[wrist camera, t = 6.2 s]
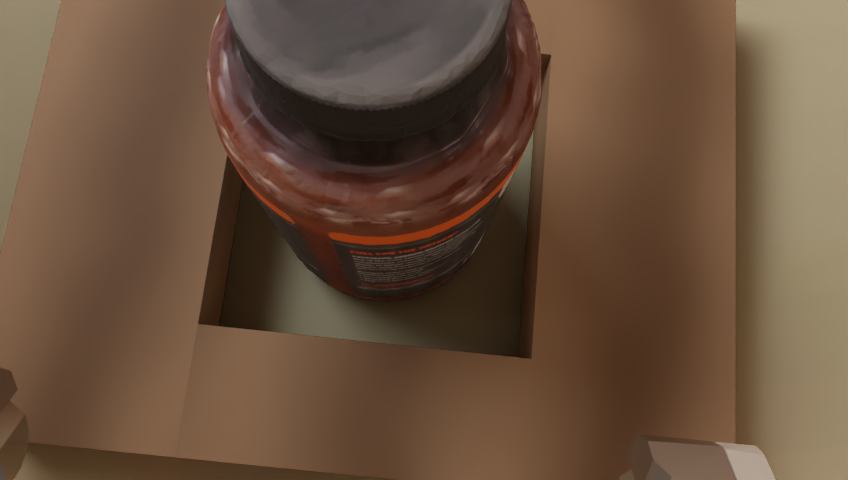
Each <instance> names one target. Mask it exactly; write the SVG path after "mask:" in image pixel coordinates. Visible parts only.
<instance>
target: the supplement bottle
mask: <svg viewBox="0 0 848 480" xmlns="http://www.w3.org/2000/svg"><path fill="white" fill-rule="evenodd" d="M224 1H225V3H224V5H223V7H222V9H221V11H220V13H219V15H218V17H217V19H216V21H215V23H214V27H213V31H212V35H211V39H210V44H209V49H208V57H207V62H206V82H207V94H208V99H209V104H210V109H211V114H212V117H213V120H214V123H215V126H216V129H217V132H218V135H219V137H220V140H221V143H222V145H223V147H224V149H225V151H226V153H227V155H228V156H229V158H230V159H231V161H232V163H233V164H234V166H235V167H236V169H237V171H238V172H239V174H240V175H241V177H242V178H243V180H244V182H245V183H246V185H247V186H248V188H249V189H250V190H251V191H252V193H253V194H254V196H255V198H256V199H257V200H258V201H259V203H260V204H261V206H262V208H263V209H264V210H265V212H266V213H267V214H268V216H269V217H270V219H271V221H272V222H273V223H274V224H275V226H276V227H277V229H278V230H279V231H280V233H281V235H282V236H283V237H284V239H285V240H286V241H287V243H288V244H289V246H290V247H291V248H292V250H293V251H294V253H295V254H296V255H297V257H298V258H299V259H300V260H301V261H302V262H303V263H304V265H305V266H306V267H307V268H308V269H309V270H311V271H312V272H313V273H314V274H316V275H317V276H318V277H319V278H320V279H322V280H323V281H324V282H326V283H327V284H329V285H331V286H333V287H334V288H336V289H338V290H340V291H343V292H345V293H348V294H351V295H353V296H357V297H359V298H363V299H369V300H397V299H404V298H409V297H413V296H417V295H419V294H422V293H424V292H427V291H429V290H431V289H433V288H436V287H437V286H439V285H441V284H443V283H444V282H446V281H447V280H448V279H449V278H450V277H452V276H453V275H454V274H455V273H456V272H457V271H458V270H459V269H460V268H461V267H462V266H463V265H464V264H465V263H466V262H467V261H468V260H469V258H470V257H471V255H472V254H473V253H474V251H475V249H476V248H477V246H478V244H479V243H480V241H481V239H482V237H483V235H484V233H485V231H486V229H487V227H488V225H489V223H490V221H491V219H492V217H493V215H494V213H495V211H496V208H497V206H498V204H499V202H500V201H501V199H502V197H503V194H504V192H505V191H506V189H507V186H508V184H509V182H510V180H511V178H512V176H513V174H514V171H515V169H516V167H517V165H518V163H519V161H520V159H521V157H522V155H523V152H524V150H525V148H526V146H527V144H528V141H529V139H530V137H531V135H532V132H533V129H534V125H535V122H536V119H537V116H538V111H539V107H540V103H541V95H542V66H541V52H540V45H539V42H538V36H537V33H536V29H535V24H534V23H533V21H532V19H531V15H530V13H529V11H528V8H527V5H526V3H525V1H524V0H224Z"/></svg>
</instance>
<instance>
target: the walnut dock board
mask: <svg viewBox="0 0 848 480" xmlns="http://www.w3.org/2000/svg"><path fill="white" fill-rule="evenodd" d="M524 1H525V3H526V5H527V8H528V11H529V13H530V15H531V19H532V21H533V23H534V24H535V29H536V33H537V36H538V42H539V45H540V52H541V66H542V95H541V103H540V107H539V111H538V116H537V119H536V122H535V125H534V138H533V152H532V167H531V181H530V195H529V210H528V224H527V239H526V253H525V267H524V282H523V296H522V311H521V325H520V339H519V354H518V357H509V356H499V355H490V354H480V353H470V352H461V351H451V350H442V349H432V348H423V347H413V346H403V345H394V344H384V343H375V342H365V341H355V340H346V339H336V338H327V337H317V336H308V335H298V334H288V333H279V332H269V331H260V330H250V329H240V328H231V327H221V326H219V322H220V316H221V310H222V304H223V298H224V292H225V286H226V280H227V274H228V268H229V262H230V256H231V250H232V244H233V237H234V231H235V225H236V219H237V213H238V207H239V201H240V195H241V189H242V183H243V178H242V177H241V175H240V174H239V172H238V171H237V169H236V167H235V166H234V164H233V163H232V161H231V159H230V158H229V156H228V155H227V153H226V151H225V149H224V147H223V145H222V143H221V140H220V137H219V135H218V132H217V129H216V126H215V123H214V120H213V117H212V114H211V109H210V104H209V99H208V94H207V82H206V62H207V57H208V49H209V44H210V39H211V35H212V31H213V27H214V23H215V21H216V19H217V17H218V15H219V13H220V11H221V9H222V7H223V5H224V3H225V1H224V0H61V4H60V8H59V12H58V17H57V21H56V25H55V29H54V33H53V37H52V41H51V46H50V50H49V54H48V58H47V62H46V66H45V70H44V75H43V79H42V83H41V87H40V91H39V95H38V99H37V104H36V108H35V112H34V116H33V120H32V124H31V128H30V133H29V137H28V141H27V145H26V149H25V153H24V157H23V161H22V166H21V170H20V174H19V178H18V182H17V186H16V190H15V195H14V199H13V203H12V207H11V211H10V215H9V219H8V224H7V228H6V232H5V236H4V240H3V244H2V248H1V253H0V368H3V369H7V370H10V371H11V372H12V375H13V378H14V380H15V383H16V386H17V389H18V390H17V391H16V393H15V394H14V395H13V397H12V398H11V399H10V401H11V402H12V403H13V404H14V405H15V406H16V407H17V408H19V409H20V410H21V411H22V412H23V413H24V414H25V416H26V419H27V423H28V427H29V443H38V444H48V445H58V446H68V447H77V448H87V449H97V450H107V451H117V452H127V453H137V454H147V455H157V456H166V457H176V458H186V459H196V460H206V461H216V462H226V463H236V464H246V465H255V466H265V467H275V468H285V469H295V470H305V471H315V472H325V473H335V474H344V475H354V476H364V477H374V478H384V479H394V480H618V479H619V477H620V476H621V475H623V474H624V473H626V472H627V471H629V470H630V469H632V468H631V464H630V460H629V456H628V453H629V450H630V448H631V445H632V443H633V441H634V439H635V438H636V437H637V436H638V435H639V434H641V435H652V436H662V437H673V438H683V439H694V440H704V441H712V442H714V443H715V442H723V443H734V444H735V411H736V0H524Z"/></svg>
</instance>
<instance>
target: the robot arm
mask: <svg viewBox="0 0 848 480" xmlns="http://www.w3.org/2000/svg"><path fill="white" fill-rule="evenodd" d="M17 390H18V389H17V386H16V383H15V380H14V378H13V375H12V372H11V371H10V370H7V369H3V368H0V480H13V479H14V478H15V476H16V474H17V473H18V471H19V470H20V468H21V466H22V463H23V460H24V457H25V454H26V451H27V448H28V445H29V427H28V423H27V419H26V416H25V414H24V413H23V412H22V411H21V410H20V409H19V408H17V407H16V406H15V405H14V404H13V403H12V402H11V401H10V399H11V398H12V397H13V395H14V394H15V393H16V391H17ZM628 456H629V460H630V464H631V468H632V469H630V470H629V471H627V472H626V473H624V474H623V475H621V476H620V477H619V479H618V480H776V479H775V476H774V474H773V472H772V470H771V468H770V466H769V464H768V462H767V460H766V458H765V456H764V454H763V452H762V451H761V450H760V449H759V448H758V447H757V446H754V445H744V444H734V443H723V442H715V443H714V442H712V441H704V440H694V439H683V438H673V437H662V436H652V435H641V434H639V435H638V436H637V437H636V438H635V439H634V441H633V443H632V445H631V448H630V450H629V453H628Z"/></svg>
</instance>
